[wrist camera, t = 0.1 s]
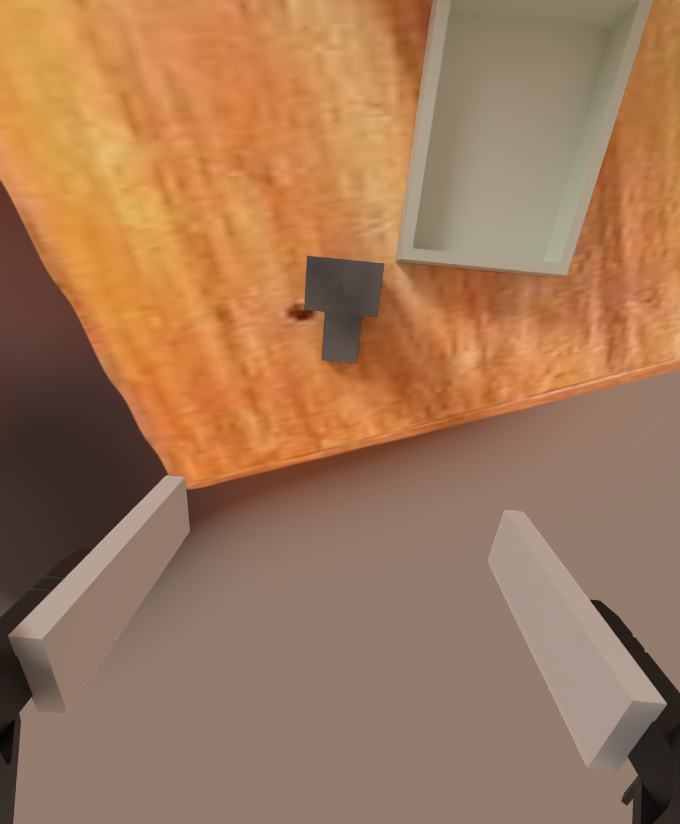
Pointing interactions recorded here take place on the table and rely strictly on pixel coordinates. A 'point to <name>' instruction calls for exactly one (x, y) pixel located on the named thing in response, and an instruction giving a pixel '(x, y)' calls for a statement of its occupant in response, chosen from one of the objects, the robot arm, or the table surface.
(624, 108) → the table surface
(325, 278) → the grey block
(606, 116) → the tray
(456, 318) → the table surface
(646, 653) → the robot arm
